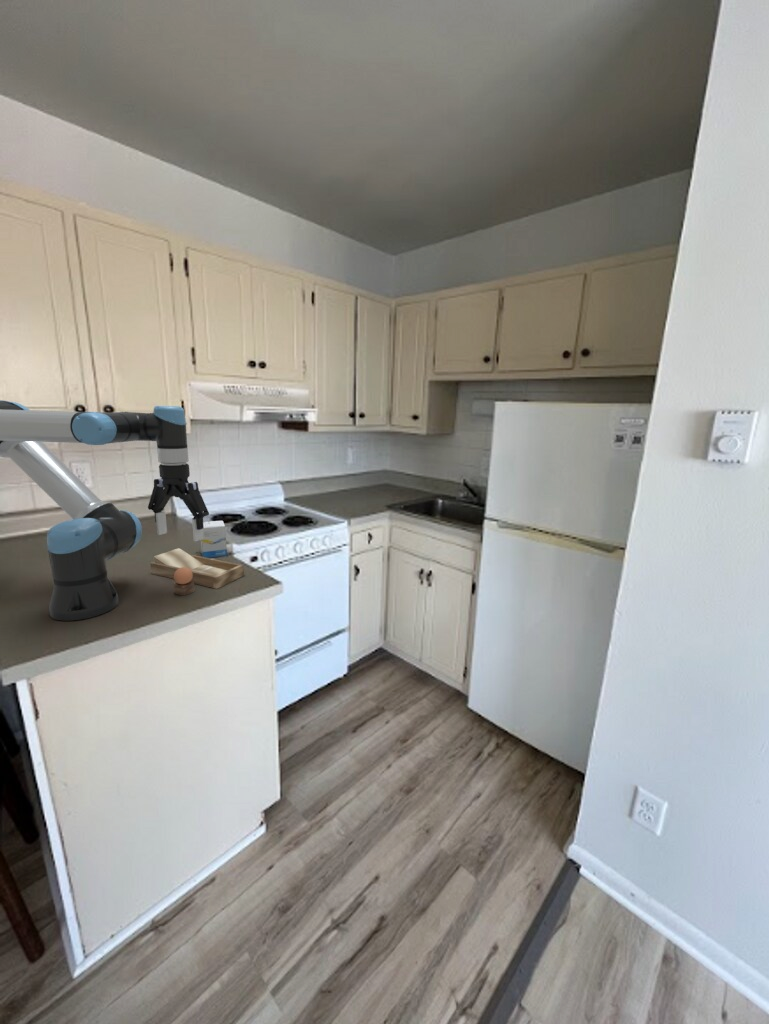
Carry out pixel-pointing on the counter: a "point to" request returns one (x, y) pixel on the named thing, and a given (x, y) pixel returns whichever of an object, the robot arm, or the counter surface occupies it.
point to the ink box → (213, 539)
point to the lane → (197, 568)
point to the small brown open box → (184, 588)
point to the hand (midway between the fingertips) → (180, 537)
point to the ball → (183, 575)
